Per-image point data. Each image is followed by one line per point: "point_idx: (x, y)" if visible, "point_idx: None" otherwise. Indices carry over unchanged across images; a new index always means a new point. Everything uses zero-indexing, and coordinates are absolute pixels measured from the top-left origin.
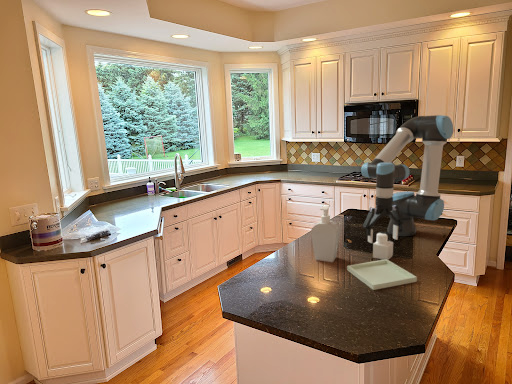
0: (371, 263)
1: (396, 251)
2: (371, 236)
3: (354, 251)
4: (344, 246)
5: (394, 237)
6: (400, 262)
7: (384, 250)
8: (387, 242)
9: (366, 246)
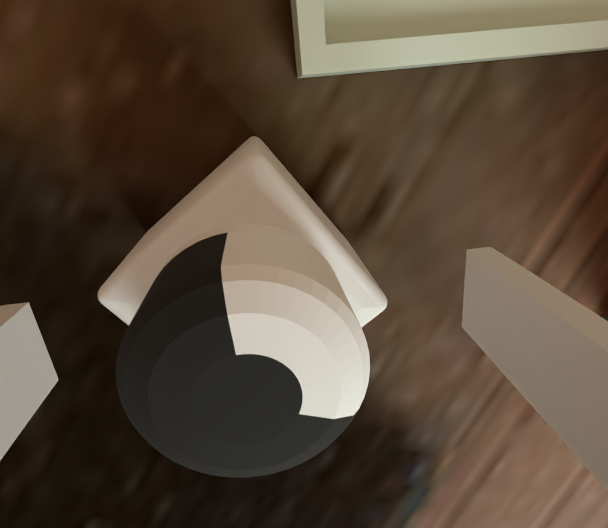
0: (505, 29)
1: (61, 325)
2: (556, 293)
3: (414, 394)
4: (427, 487)
5: (33, 356)
6: (140, 51)
7: (285, 176)
8: (227, 226)
9: None
